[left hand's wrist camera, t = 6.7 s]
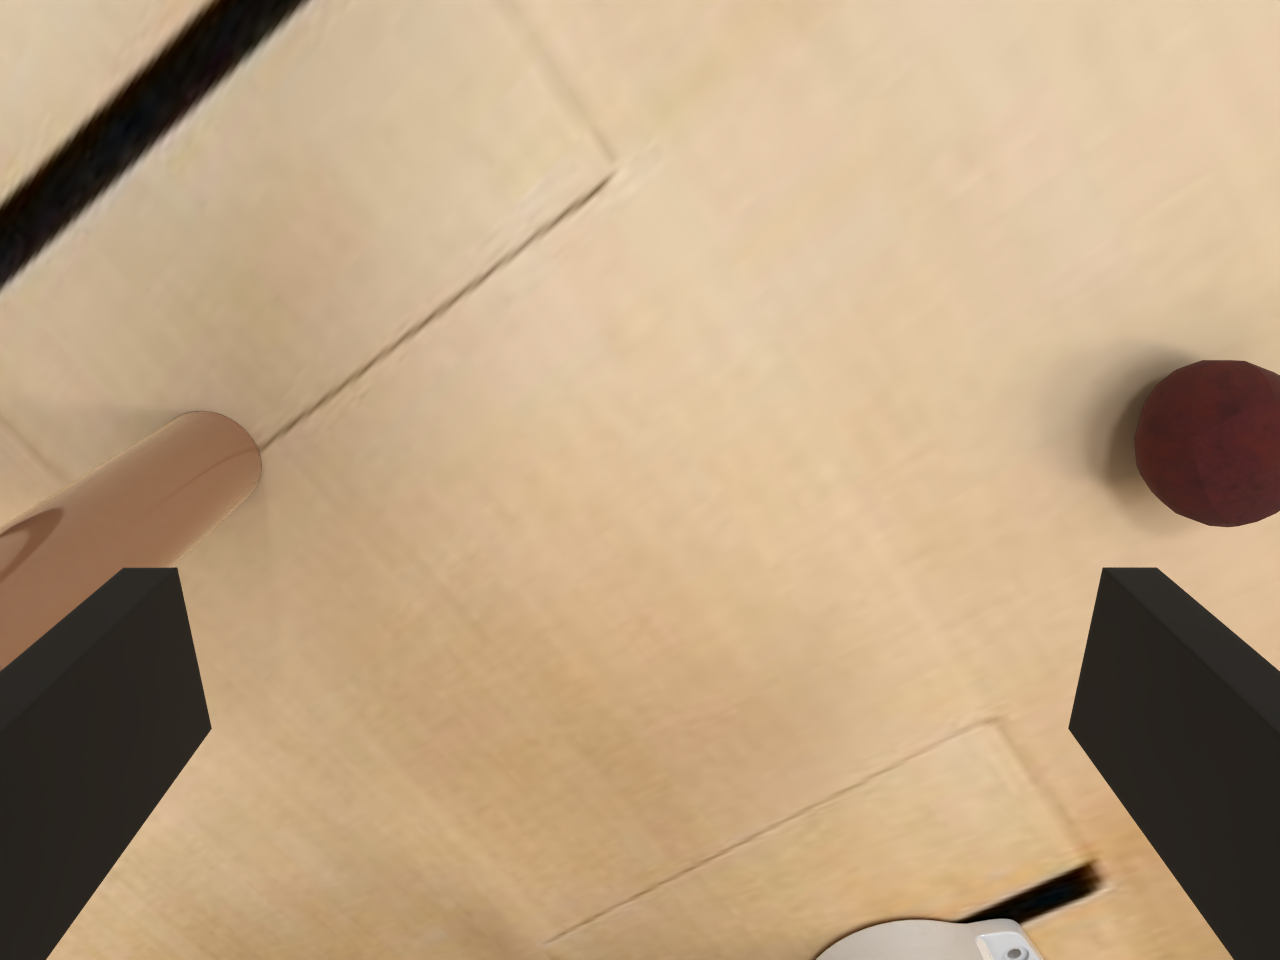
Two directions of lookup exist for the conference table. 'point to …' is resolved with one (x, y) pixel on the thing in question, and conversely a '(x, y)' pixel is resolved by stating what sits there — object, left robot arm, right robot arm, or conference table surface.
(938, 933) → the right robot arm
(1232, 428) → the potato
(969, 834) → the conference table surface
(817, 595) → the conference table surface
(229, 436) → the bottle
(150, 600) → the left robot arm
